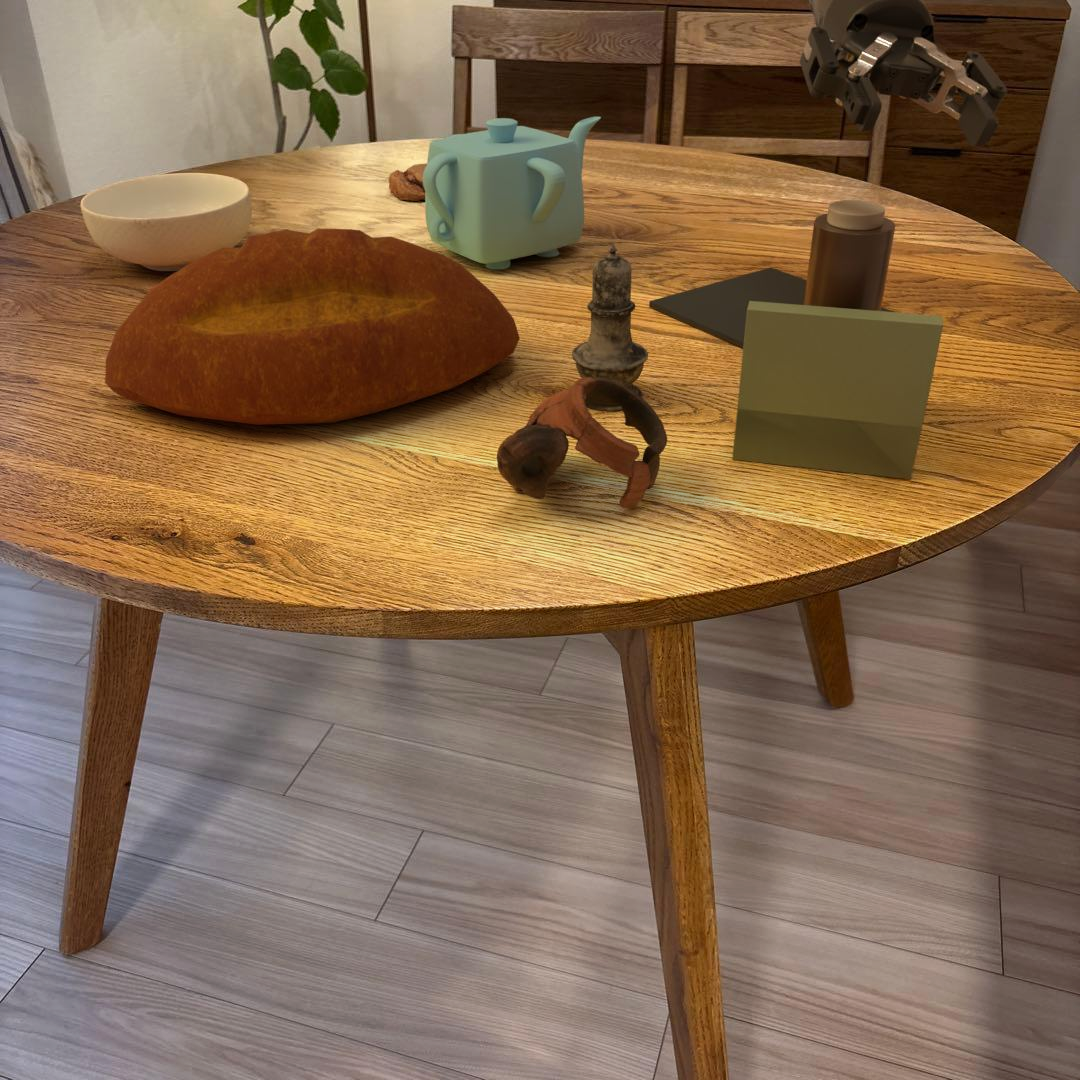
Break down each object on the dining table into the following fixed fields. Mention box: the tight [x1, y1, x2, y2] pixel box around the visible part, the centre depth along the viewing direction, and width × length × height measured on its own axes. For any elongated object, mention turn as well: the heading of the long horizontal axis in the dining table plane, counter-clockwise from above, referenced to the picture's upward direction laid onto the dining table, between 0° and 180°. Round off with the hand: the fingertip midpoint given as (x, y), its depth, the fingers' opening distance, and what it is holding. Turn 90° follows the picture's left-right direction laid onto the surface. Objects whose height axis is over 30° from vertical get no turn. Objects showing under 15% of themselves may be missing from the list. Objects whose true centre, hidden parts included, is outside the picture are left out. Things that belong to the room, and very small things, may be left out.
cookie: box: [388, 163, 427, 202], centre depth 132 cm, size 10×11×3 cm
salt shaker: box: [571, 244, 649, 412], centre depth 78 cm, size 6×6×12 cm
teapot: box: [423, 116, 602, 270], centre depth 109 cm, size 18×16×14 cm
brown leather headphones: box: [496, 376, 668, 510], centre depth 68 cm, size 12×10×8 cm
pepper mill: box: [803, 199, 896, 311], centre depth 71 cm, size 5×5×12 cm
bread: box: [104, 228, 521, 426], centre depth 81 cm, size 21×33×12 cm, turn 100°
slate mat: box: [648, 266, 895, 349], centre depth 96 cm, size 16×16×1 cm
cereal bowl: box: [80, 172, 253, 272], centre depth 109 cm, size 17×17×7 cm
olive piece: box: [731, 301, 944, 480], centre depth 73 cm, size 12×12×11 cm
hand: (929, 128), depth 72 cm, fingers open, 8 cm apart
